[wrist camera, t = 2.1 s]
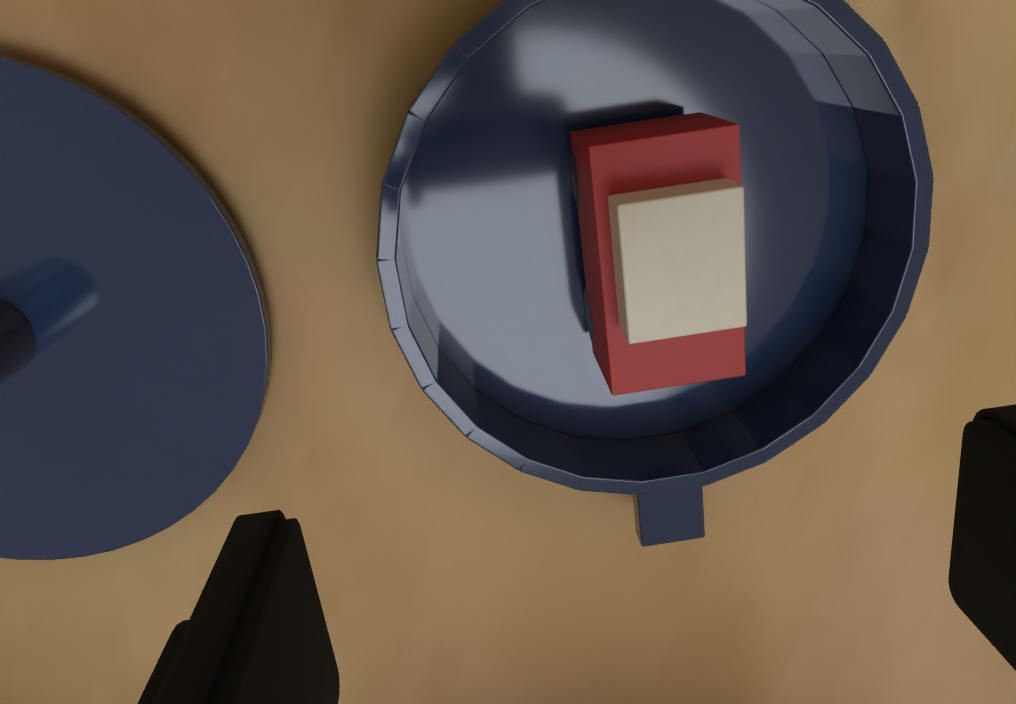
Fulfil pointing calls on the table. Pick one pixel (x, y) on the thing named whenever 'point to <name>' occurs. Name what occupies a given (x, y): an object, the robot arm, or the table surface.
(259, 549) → the robot arm
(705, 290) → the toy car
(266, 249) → the table surface
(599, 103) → the pot
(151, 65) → the table surface
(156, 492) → the lid
